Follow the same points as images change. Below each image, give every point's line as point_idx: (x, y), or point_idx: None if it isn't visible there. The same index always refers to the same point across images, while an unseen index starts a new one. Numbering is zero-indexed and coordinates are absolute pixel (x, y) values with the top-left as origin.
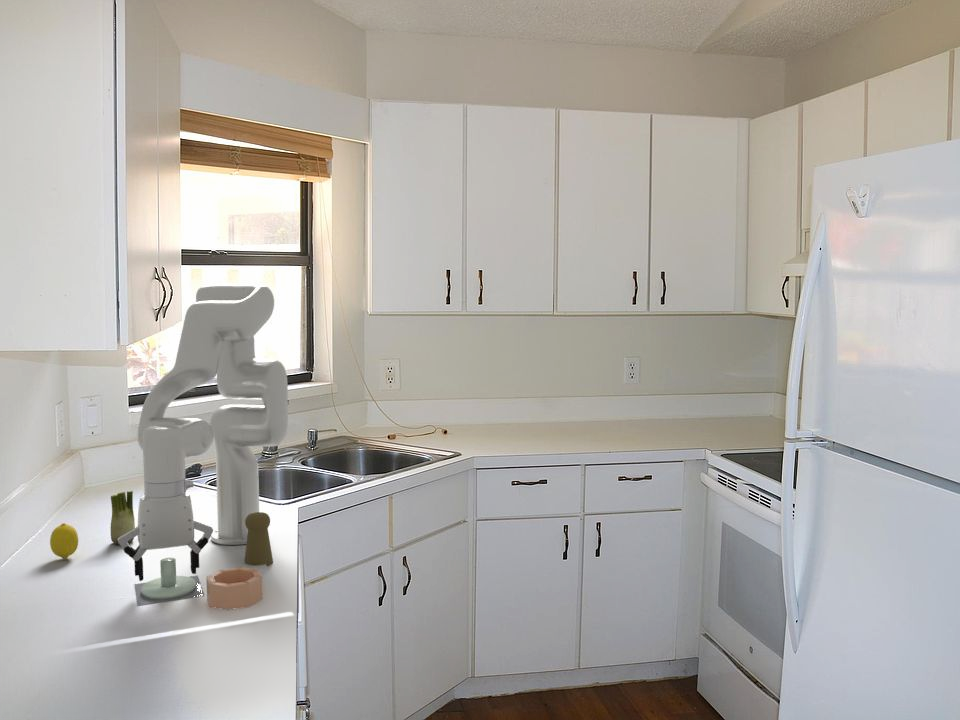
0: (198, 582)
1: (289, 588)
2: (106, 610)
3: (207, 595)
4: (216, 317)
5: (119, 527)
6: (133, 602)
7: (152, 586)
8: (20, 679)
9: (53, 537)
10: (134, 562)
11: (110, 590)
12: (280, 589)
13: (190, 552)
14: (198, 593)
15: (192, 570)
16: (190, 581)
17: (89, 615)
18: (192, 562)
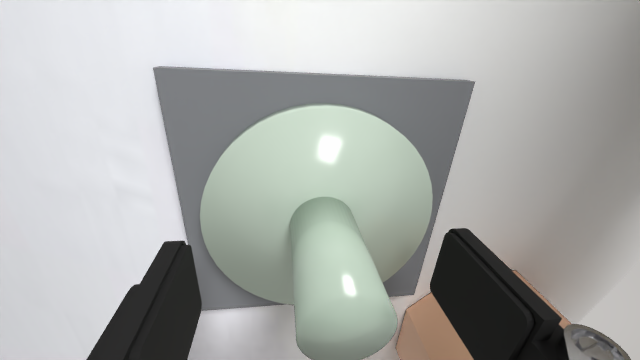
0: (441, 176)
1: (615, 284)
2: (88, 284)
3: (415, 338)
4: None
5: None
6: None
7: (251, 218)
8: None
9: None
10: (92, 353)
11: (18, 55)
12: (596, 283)
13: (517, 320)
14: (403, 274)
15: (437, 301)
16: (410, 217)
17: (33, 305)
18: (463, 339)
